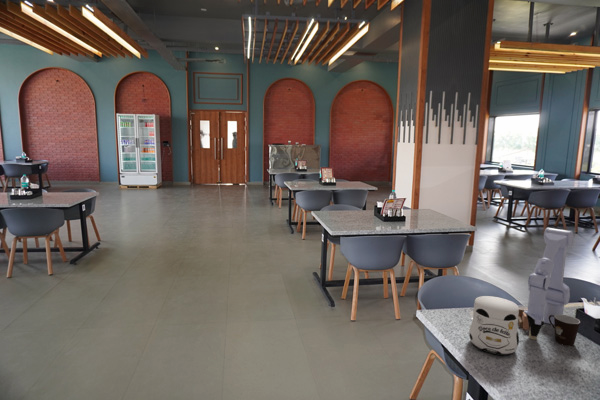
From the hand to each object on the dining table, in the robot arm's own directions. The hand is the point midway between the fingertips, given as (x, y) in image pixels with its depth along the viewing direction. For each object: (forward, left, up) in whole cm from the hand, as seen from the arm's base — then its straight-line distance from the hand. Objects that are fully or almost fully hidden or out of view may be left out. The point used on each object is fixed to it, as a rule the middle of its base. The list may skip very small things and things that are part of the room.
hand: (533, 334), depth 159 cm
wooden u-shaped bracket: (-13, 0, -2) cm, 13 cm away
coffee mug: (-3, +11, -2) cm, 12 cm away
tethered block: (-6, 0, -2) cm, 6 cm away
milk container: (+15, -16, -2) cm, 22 cm away
